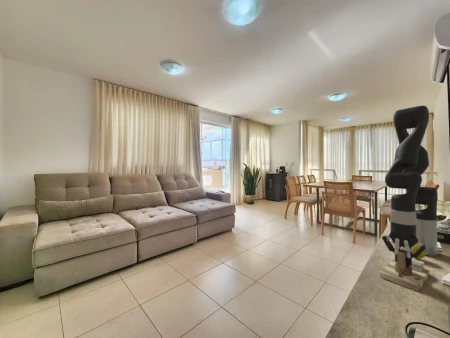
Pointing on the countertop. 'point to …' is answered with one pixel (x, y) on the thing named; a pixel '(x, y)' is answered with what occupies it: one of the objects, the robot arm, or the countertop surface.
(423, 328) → the countertop surface
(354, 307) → the countertop surface
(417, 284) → the tuner board
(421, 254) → the lemon
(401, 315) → the countertop surface
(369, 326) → the countertop surface
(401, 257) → the peg
